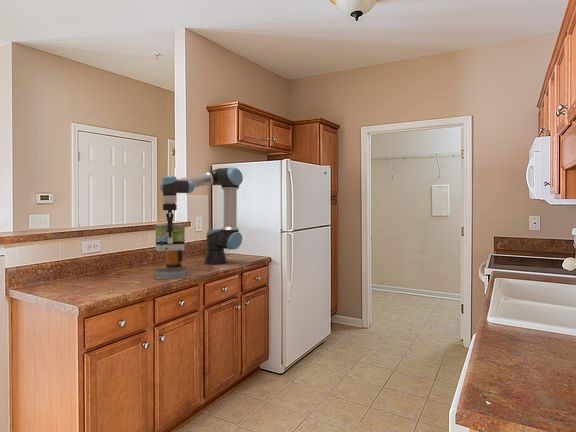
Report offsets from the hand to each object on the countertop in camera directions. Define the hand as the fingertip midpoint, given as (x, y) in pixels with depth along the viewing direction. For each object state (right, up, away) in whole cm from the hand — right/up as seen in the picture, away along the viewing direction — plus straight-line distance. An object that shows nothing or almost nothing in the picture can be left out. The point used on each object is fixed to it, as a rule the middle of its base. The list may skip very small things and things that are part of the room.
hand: (170, 242), depth 225 cm
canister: (-5, -18, +29) cm, 35 cm away
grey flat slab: (0, -19, +1) cm, 19 cm away
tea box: (0, -5, 0) cm, 5 cm away
